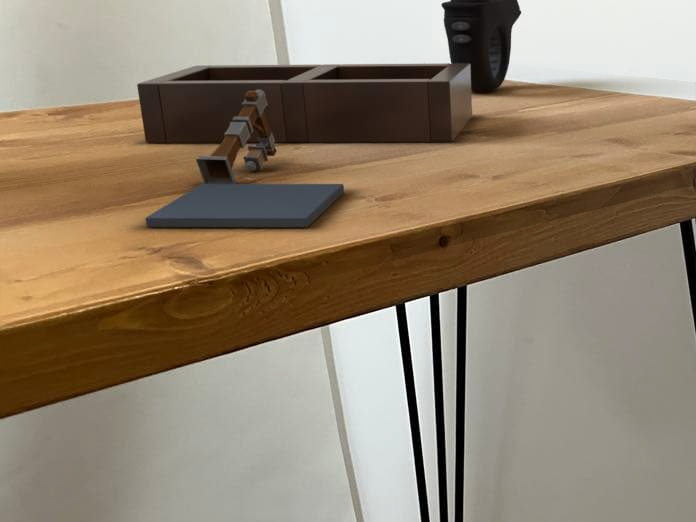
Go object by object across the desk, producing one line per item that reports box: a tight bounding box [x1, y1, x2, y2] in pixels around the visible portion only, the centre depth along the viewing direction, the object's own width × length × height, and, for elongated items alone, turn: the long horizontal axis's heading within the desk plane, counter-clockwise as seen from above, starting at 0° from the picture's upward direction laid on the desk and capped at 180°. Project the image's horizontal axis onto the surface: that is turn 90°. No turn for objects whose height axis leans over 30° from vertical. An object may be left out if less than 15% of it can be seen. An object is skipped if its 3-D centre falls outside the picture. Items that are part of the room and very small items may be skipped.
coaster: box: [145, 183, 345, 229], centre depth 58 cm, size 8×8×1 cm
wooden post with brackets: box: [195, 90, 278, 184], centre depth 66 cm, size 2×8×4 cm, turn 169°
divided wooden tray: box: [136, 62, 473, 144], centre depth 81 cm, size 22×12×4 cm, turn 86°
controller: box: [440, 0, 522, 93], centre depth 99 cm, size 4×12×10 cm, turn 164°
